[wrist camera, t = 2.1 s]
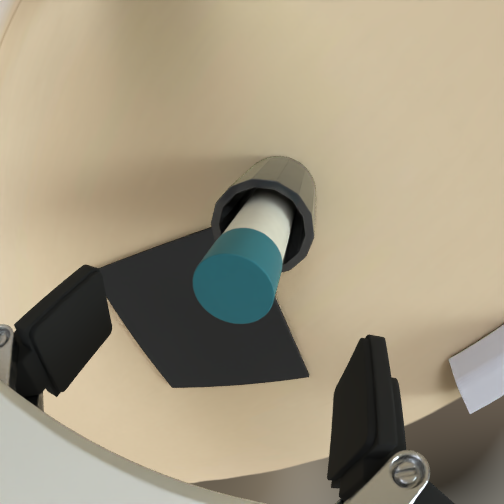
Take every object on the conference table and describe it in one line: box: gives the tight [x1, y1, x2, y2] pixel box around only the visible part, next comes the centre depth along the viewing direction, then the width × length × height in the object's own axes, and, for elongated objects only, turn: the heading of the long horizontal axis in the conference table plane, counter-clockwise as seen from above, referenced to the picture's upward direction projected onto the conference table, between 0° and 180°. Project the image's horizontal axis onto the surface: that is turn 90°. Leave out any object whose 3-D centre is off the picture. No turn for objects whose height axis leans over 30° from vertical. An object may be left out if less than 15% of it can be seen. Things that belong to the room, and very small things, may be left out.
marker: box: [193, 188, 296, 324], centre depth 18 cm, size 3×3×14 cm
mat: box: [98, 227, 309, 388], centre depth 33 cm, size 20×20×1 cm
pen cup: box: [211, 156, 316, 272], centre depth 20 cm, size 6×6×8 cm
